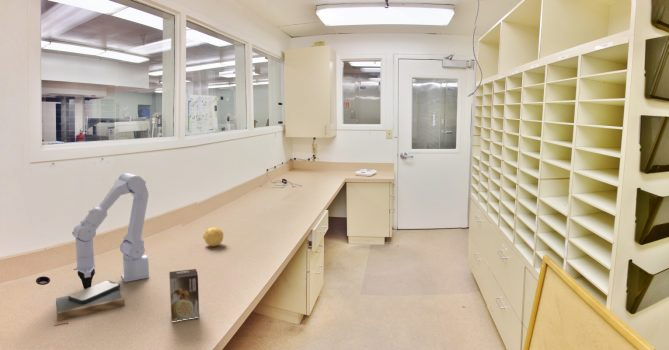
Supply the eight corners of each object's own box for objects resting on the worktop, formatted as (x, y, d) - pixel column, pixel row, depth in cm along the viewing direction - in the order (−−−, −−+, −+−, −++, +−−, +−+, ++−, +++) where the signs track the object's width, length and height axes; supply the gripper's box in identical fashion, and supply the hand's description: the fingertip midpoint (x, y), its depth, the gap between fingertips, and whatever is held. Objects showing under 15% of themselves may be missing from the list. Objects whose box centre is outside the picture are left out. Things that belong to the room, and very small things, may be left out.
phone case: (82, 305, 144) (122, 287, 158) (82, 301, 144) (122, 284, 158) (66, 300, 147) (106, 283, 162) (66, 296, 147) (106, 279, 162)
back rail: (124, 304, 147) (123, 297, 146) (124, 305, 145) (124, 299, 145) (57, 318, 135) (57, 311, 134) (58, 320, 134) (57, 313, 133)
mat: (117, 286, 161) (116, 285, 160) (124, 304, 147) (124, 303, 146) (56, 298, 149) (56, 297, 149) (57, 319, 135) (57, 317, 135)
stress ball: (214, 243, 217) (199, 233, 213) (226, 230, 217) (212, 220, 213) (214, 253, 208) (199, 242, 204) (227, 239, 208) (212, 228, 204)
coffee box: (197, 310, 144) (197, 268, 142) (199, 319, 138) (198, 275, 136) (170, 314, 141) (169, 271, 138) (170, 323, 135) (169, 278, 132)
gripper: (71, 251, 157) (73, 283, 159) (73, 263, 145) (76, 298, 147) (92, 248, 161) (94, 280, 163) (96, 259, 149) (98, 293, 151)
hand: (87, 288), depth 155 cm, fingers closed
